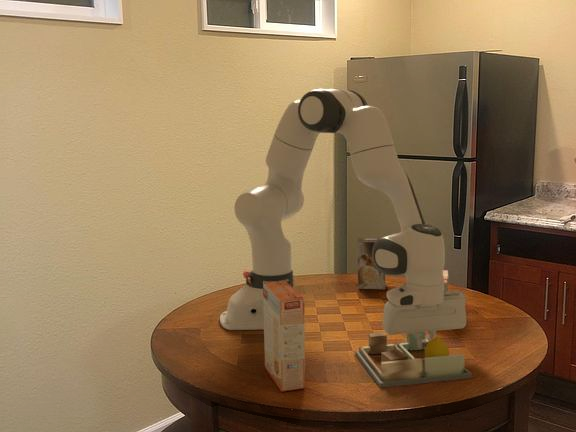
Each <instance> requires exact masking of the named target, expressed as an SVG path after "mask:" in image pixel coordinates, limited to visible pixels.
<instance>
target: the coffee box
mask: <svg viewBox="0 0 576 432" xmlns="http://www.w3.org/2000/svg"><path fill="white" fill-rule="evenodd" d="M381 238H382V237H380V238H379V237H378V238H377V237H376V238H375V237H374V238H373V237H366V238H363V237H362V238H361V237H358V238H357V243H356V245H357V248H356V249H357V251H356V252H357V289H359V290H386V274H383V273H382V272H380V271H379V270H378V269H377V268H376V266H375V265H374V262H373V259H372V249H373V246H374V244H375V242H376V241H377V240H379V239H381Z"/></svg>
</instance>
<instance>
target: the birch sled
mask: <svg viewBox="0 0 576 432" xmlns="http://www.w3.org/2000/svg"><path fill="white" fill-rule="evenodd" d="M358 347H359V348H358V352H359V353H360V354H361V356H362V357H363V358H364V359H365V361H366V362H367V363H368V365H369V366H370V367H371V369H372V370H373V371H374V372H375V374H376V375H377V376H378V378H379V379H380V380H381V382H386V381H396V380H405V379H415V378H423V376H422V366H423V359H422V358H420V357H419V358H415V359H409V358H408V360H398V361H388V362H381V361H380V368H379V367H378V366H377V364H376V363H375V362H374V361H373V359H372V358H371V356H370V355H375V354H381V353H382V352H388V351H393V350H400V349H399V348H398V345H396V343H388V334H387V333H385V332H374V333H368V345H366V346H358ZM400 351H401V350H400ZM401 352H402V351H401ZM402 353H403V352H402ZM369 354H370V355H369Z"/></svg>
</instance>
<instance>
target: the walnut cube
mask: <svg viewBox="0 0 576 432" xmlns="http://www.w3.org/2000/svg"><path fill="white" fill-rule="evenodd" d="M398 360H408V356H407V355H405V354H404V353H402V352H401V351H400V350H393V351H388V352H382V353H380V363H381V362H388V361H398Z"/></svg>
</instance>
